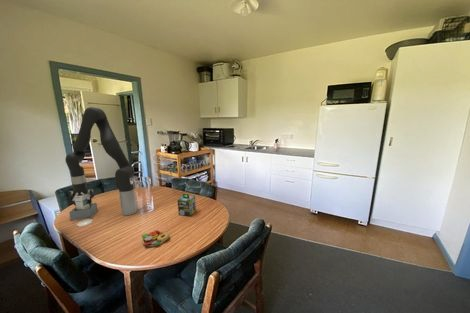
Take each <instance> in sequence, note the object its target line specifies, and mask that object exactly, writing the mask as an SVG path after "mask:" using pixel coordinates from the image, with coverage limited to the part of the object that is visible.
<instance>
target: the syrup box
mask: <svg viewBox="0 0 470 313" xmlns="http://www.w3.org/2000/svg"><path fill="white" fill-rule="evenodd" d="M88 194H89V193H88ZM88 194H86V195H88ZM73 198H74V197H73ZM74 199H75V204H76V206H75V207H76V208H77V210H85V209H88V208H90V207H91V204H89V203H88V199H87V198H86V197H85V196H83V195H79V196H76V197H75V198H74Z"/></svg>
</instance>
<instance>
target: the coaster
mask: <svg viewBox="0 0 470 313" xmlns="http://www.w3.org/2000/svg"><path fill="white" fill-rule="evenodd" d="M93 222H94V221H93V219H92V218H88V219H81V221H79V222H77V223H76V227H80V228H81V227H86V226H88V225H91V224H92V223H93Z"/></svg>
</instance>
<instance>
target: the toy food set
mask: <svg viewBox="0 0 470 313" xmlns="http://www.w3.org/2000/svg"><path fill="white" fill-rule="evenodd" d="M170 237H171V236H170V233H168V232H165V231H160V230H158V229H156V230H154V231H153V230H152V231H151V232H149V233H144V234H142V235H141V238H142V241H141V242H142V244H143V245H144V246H146V247H158V246H160V245H162V244H163V243H164V242H165V241H167V240H168V239H169V238H170Z"/></svg>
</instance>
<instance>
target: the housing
mask: <svg viewBox="0 0 470 313" xmlns="http://www.w3.org/2000/svg"><path fill="white" fill-rule="evenodd" d="M97 203H98V202H96V201H95V202H92V203H91V207H90V208H88V209H85V210H77V208H76V206H74V207H73V208H72V209H71V210H70V211H69V212H68V213H69V218H70V221H79V220H86V219H92V217H93V216H94V215H95V214H96V213H97V212H98V211H99V209H98V204H97Z"/></svg>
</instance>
